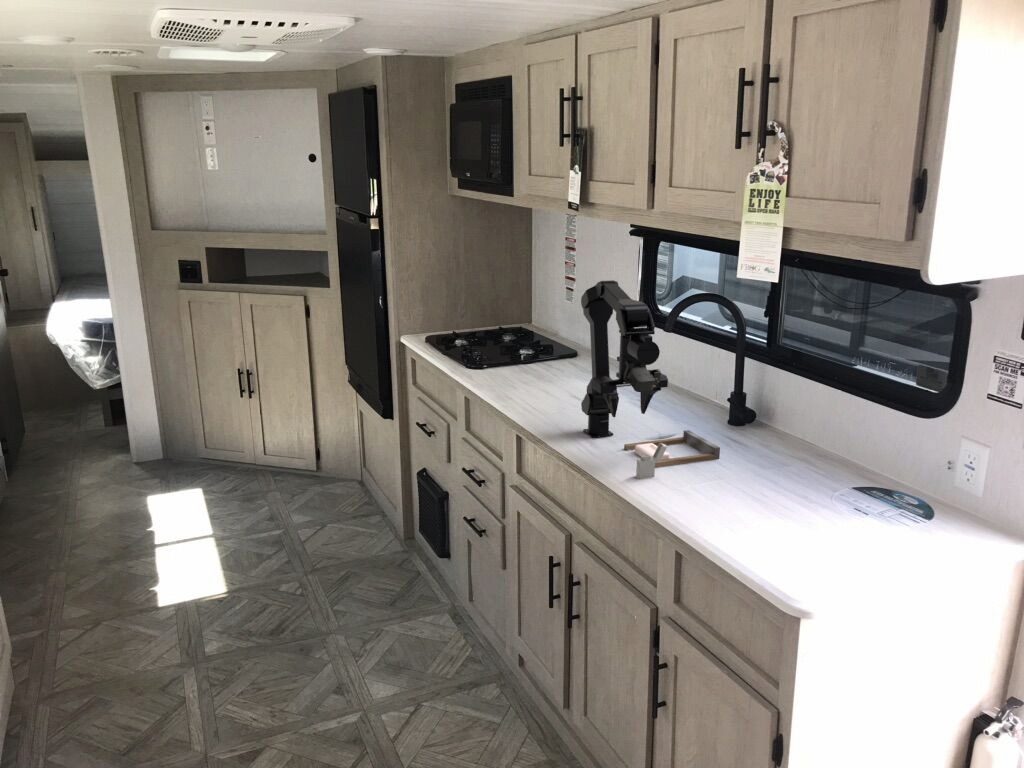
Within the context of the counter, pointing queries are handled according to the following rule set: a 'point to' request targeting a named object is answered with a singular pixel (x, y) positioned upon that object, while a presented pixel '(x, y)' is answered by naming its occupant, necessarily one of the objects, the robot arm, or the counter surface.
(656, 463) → the guide channel
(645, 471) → the lighter
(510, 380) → the counter surface
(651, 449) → the soap bar
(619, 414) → the counter surface
